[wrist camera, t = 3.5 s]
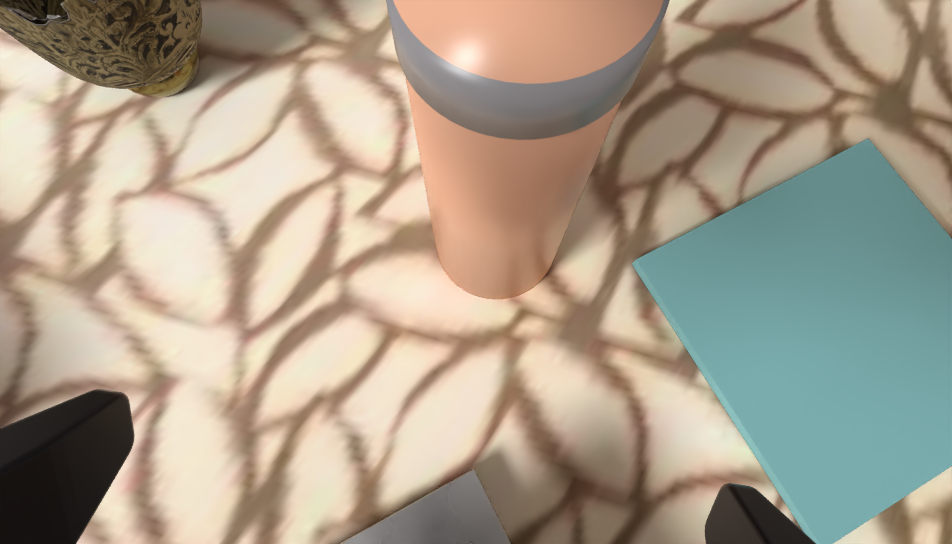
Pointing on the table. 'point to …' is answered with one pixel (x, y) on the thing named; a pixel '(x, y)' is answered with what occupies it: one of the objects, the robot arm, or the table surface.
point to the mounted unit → (441, 518)
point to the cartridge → (513, 121)
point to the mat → (823, 334)
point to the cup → (112, 40)
